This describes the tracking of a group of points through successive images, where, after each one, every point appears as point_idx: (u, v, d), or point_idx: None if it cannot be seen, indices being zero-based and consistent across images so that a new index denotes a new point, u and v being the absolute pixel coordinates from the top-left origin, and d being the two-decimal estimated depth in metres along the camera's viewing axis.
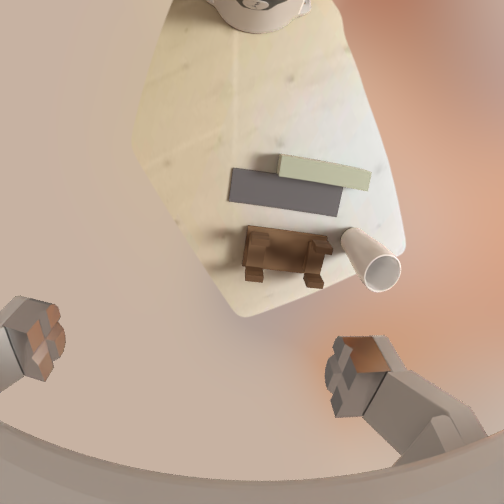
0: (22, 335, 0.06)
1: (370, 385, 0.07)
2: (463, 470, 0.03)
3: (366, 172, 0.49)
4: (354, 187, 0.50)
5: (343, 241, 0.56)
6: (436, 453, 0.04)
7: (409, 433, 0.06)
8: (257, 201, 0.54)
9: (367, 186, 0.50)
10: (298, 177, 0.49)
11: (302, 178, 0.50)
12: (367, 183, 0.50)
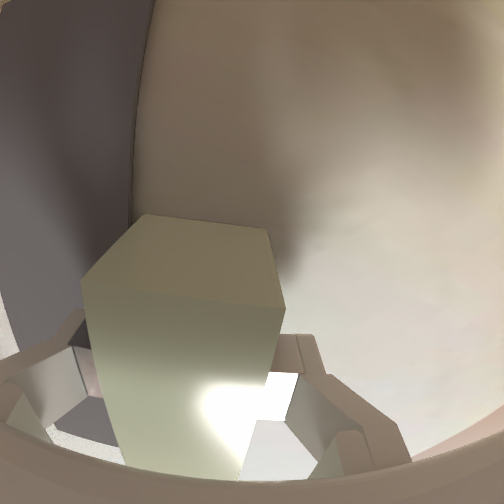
0: None
1: (282, 387, 0.06)
2: (463, 470, 0.03)
3: None
4: None
5: None
6: (337, 474, 0.04)
7: (326, 445, 0.06)
8: None
9: None
10: (115, 404, 0.06)
11: (117, 419, 0.06)
12: None
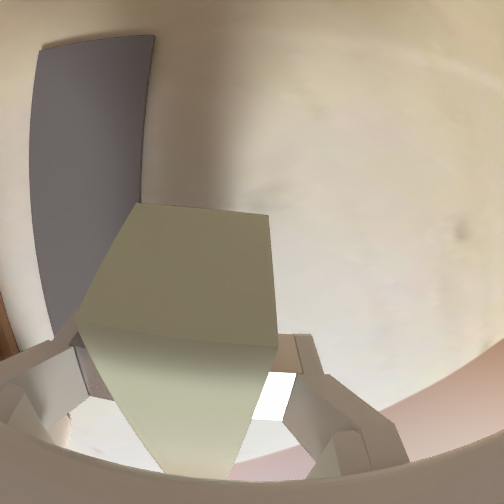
0: None
1: (280, 387, 0.06)
2: (463, 470, 0.03)
3: None
4: (166, 471, 0.13)
5: None
6: (334, 474, 0.04)
7: (324, 445, 0.06)
8: (38, 148, 0.11)
9: None
10: (124, 401, 0.07)
11: (127, 411, 0.07)
12: None
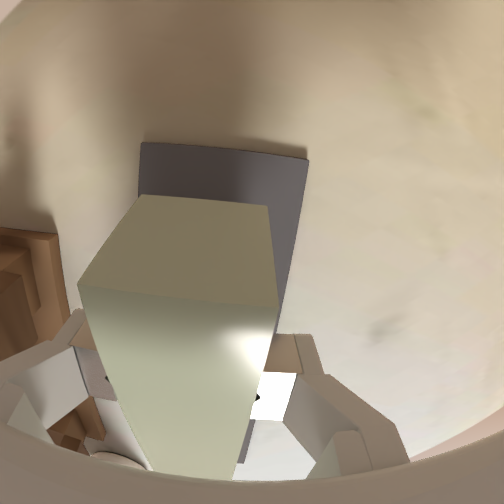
0: (96, 354, 0.06)
1: (280, 387, 0.06)
2: (463, 470, 0.03)
3: None
4: None
5: None
6: (335, 474, 0.04)
7: (325, 445, 0.06)
8: None
9: None
10: (121, 388, 0.06)
11: (124, 400, 0.07)
12: None
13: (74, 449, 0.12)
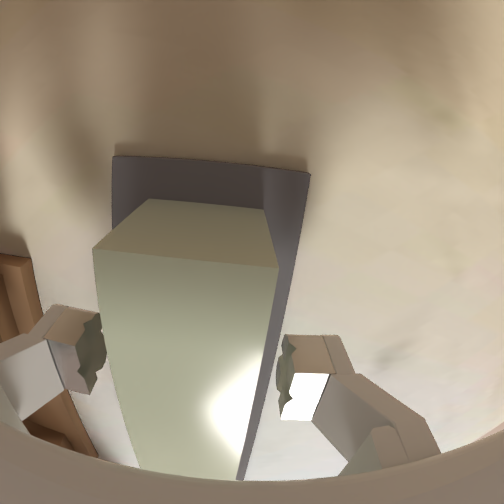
0: (68, 348, 0.06)
1: (313, 387, 0.06)
2: (463, 470, 0.03)
3: None
4: None
5: None
6: (374, 468, 0.04)
7: (356, 442, 0.06)
8: None
9: None
10: (121, 374, 0.06)
11: (123, 391, 0.07)
12: None
13: None
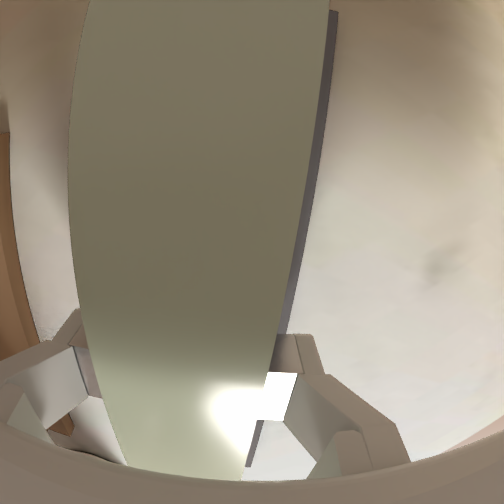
0: None
1: (281, 387, 0.06)
2: (463, 470, 0.03)
3: None
4: None
5: None
6: (335, 474, 0.04)
7: (325, 445, 0.06)
8: None
9: None
10: (83, 160, 0.04)
11: (80, 206, 0.04)
12: None
13: None
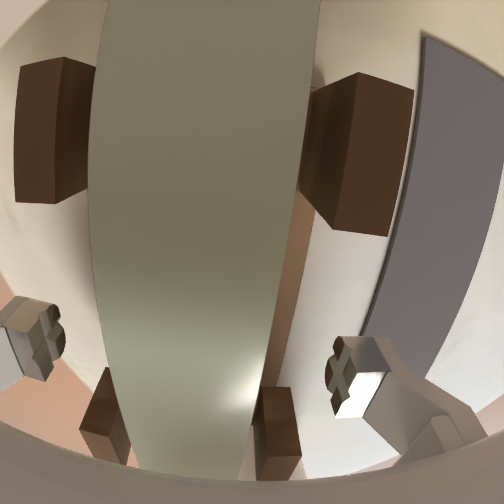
0: (21, 335, 0.06)
1: (370, 385, 0.07)
2: (463, 470, 0.03)
3: None
4: None
5: None
6: (436, 453, 0.04)
7: (409, 433, 0.06)
8: (427, 144, 0.11)
9: None
10: (102, 160, 0.04)
11: (98, 200, 0.05)
12: None
13: (288, 401, 0.11)
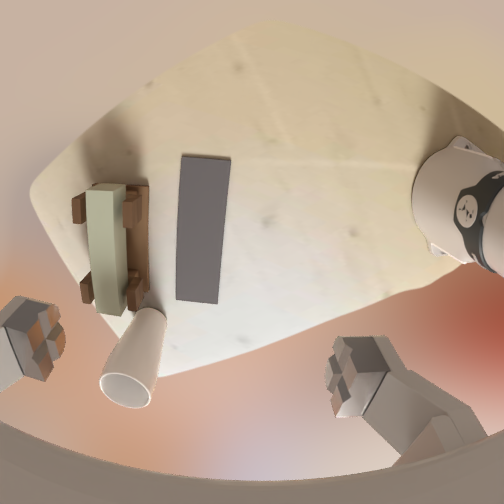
0: (21, 335, 0.06)
1: (370, 385, 0.07)
2: (463, 470, 0.03)
3: (118, 309, 0.36)
4: (95, 295, 0.35)
5: (147, 313, 0.42)
6: (436, 453, 0.04)
7: (409, 433, 0.06)
8: (184, 196, 0.37)
9: (102, 311, 0.36)
10: (88, 218, 0.31)
11: (88, 224, 0.31)
12: (105, 311, 0.36)
13: (139, 280, 0.38)
